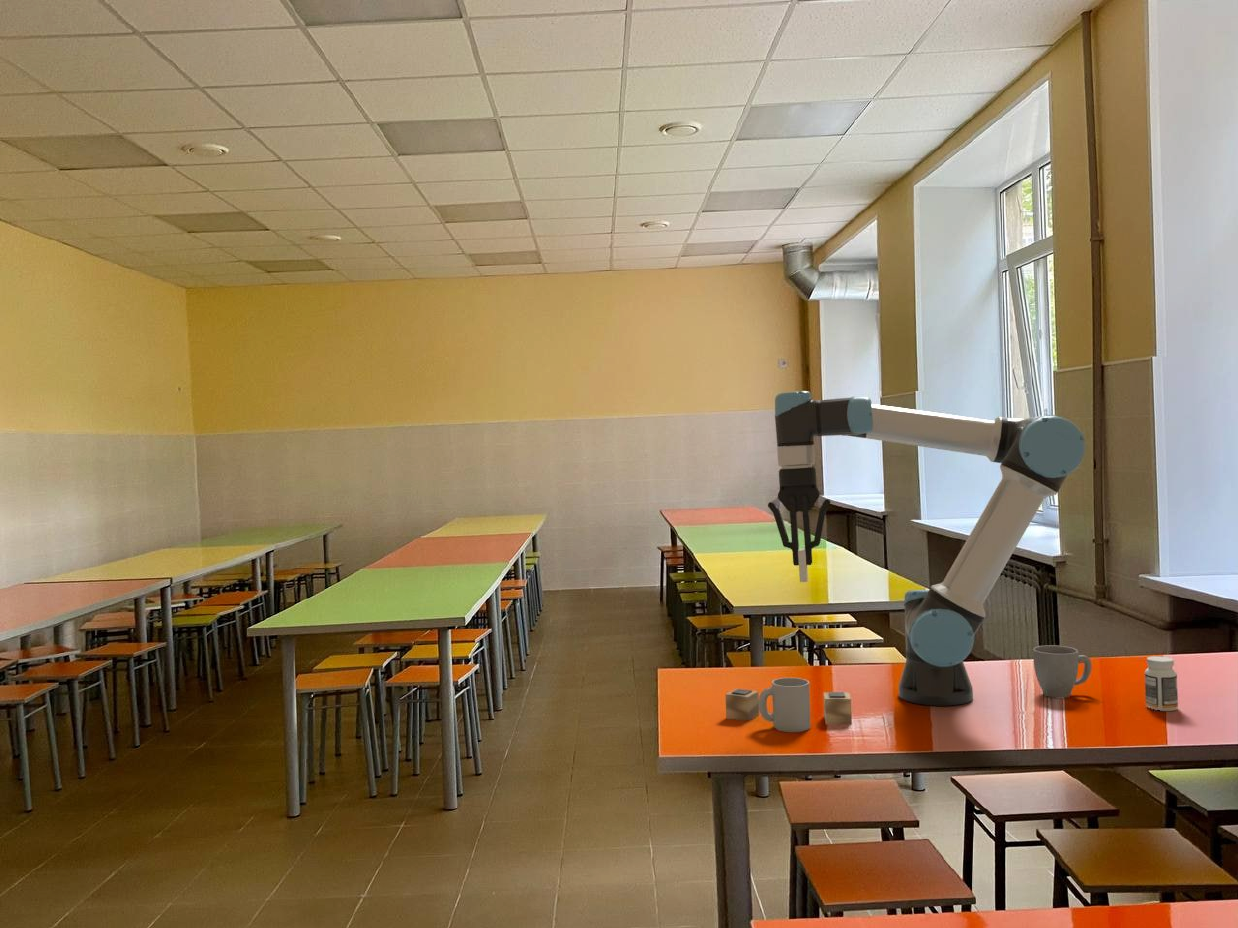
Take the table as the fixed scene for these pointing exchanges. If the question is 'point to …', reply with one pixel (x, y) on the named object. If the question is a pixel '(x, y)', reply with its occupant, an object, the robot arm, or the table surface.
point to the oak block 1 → (742, 704)
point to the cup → (787, 704)
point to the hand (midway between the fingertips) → (803, 581)
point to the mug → (1059, 669)
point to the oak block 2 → (837, 708)
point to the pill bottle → (1161, 684)
